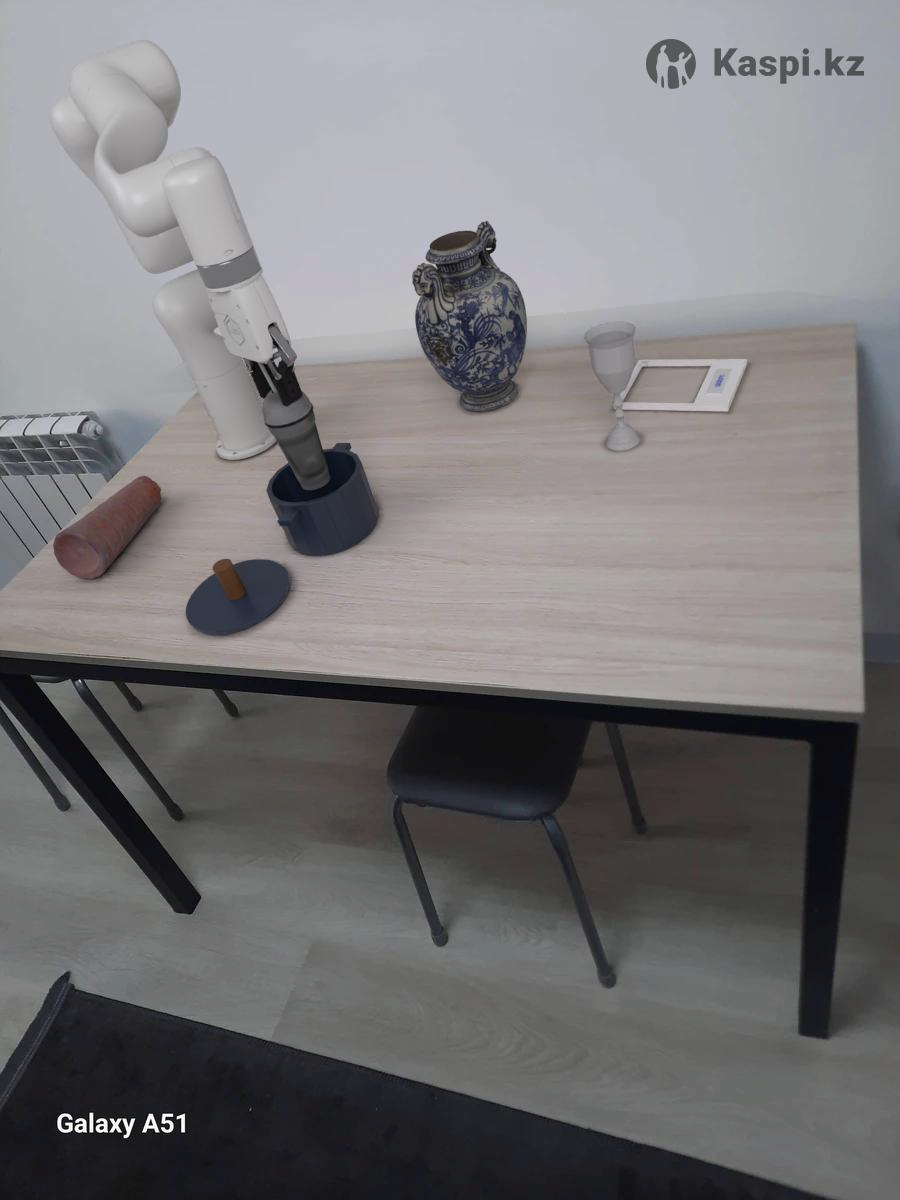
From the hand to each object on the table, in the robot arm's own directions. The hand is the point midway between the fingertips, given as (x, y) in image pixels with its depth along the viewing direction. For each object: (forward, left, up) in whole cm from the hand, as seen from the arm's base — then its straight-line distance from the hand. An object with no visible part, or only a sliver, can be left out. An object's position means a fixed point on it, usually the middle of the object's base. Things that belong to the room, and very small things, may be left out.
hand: (281, 396), depth 119 cm
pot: (0, 0, -23) cm, 23 cm away
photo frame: (+26, +55, -23) cm, 65 cm away
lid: (+1, -19, -22) cm, 29 cm away
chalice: (+27, +38, -23) cm, 52 cm away
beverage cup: (0, 0, -15) cm, 15 cm away
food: (-32, -21, -23) cm, 45 cm away
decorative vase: (-4, +40, -23) cm, 46 cm away
